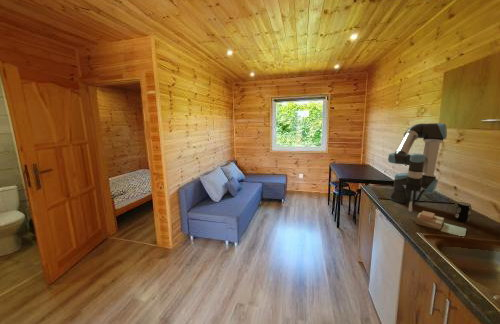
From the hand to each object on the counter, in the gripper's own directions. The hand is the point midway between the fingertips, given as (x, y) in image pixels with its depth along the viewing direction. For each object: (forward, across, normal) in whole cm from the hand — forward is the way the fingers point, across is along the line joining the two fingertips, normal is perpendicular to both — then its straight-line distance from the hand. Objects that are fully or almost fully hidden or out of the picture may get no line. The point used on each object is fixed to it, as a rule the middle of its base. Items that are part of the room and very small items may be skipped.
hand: (410, 210), depth 140 cm
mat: (+6, +22, 0) cm, 23 cm away
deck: (+6, +10, 0) cm, 12 cm away
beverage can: (+6, +24, +20) cm, 32 cm away
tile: (+2, +9, 0) cm, 9 cm away
